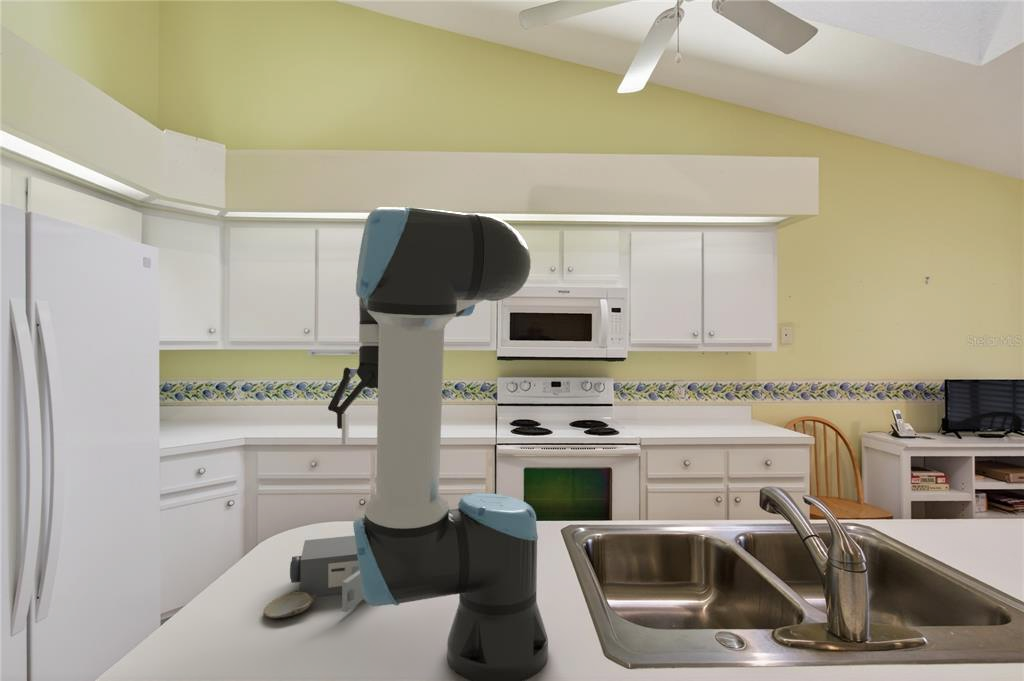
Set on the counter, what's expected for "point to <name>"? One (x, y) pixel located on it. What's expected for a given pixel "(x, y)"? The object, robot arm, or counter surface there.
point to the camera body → (325, 565)
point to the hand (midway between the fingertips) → (377, 443)
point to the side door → (351, 592)
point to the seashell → (289, 605)
